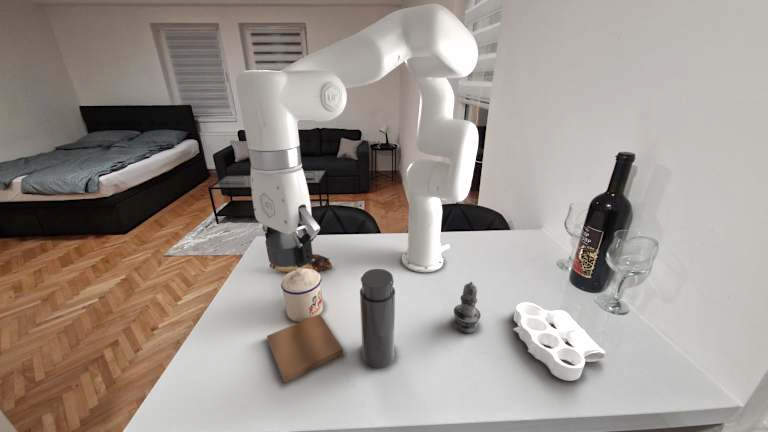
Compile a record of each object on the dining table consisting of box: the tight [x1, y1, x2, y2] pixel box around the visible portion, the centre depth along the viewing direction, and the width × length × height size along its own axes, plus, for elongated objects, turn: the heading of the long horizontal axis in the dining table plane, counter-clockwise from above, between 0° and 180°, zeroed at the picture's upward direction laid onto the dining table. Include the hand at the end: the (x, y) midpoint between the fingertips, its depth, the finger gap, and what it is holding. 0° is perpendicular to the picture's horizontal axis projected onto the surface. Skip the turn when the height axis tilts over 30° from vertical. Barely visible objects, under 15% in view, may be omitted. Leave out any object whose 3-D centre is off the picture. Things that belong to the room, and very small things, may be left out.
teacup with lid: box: [280, 268, 324, 323], centre depth 73 cm, size 12×9×12 cm
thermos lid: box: [265, 230, 304, 267], centre depth 53 cm, size 7×7×4 cm
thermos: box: [359, 268, 396, 369], centre depth 58 cm, size 6×6×19 cm
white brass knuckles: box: [512, 302, 607, 382], centre depth 64 cm, size 3×18×15 cm
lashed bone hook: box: [269, 253, 333, 273], centre depth 90 cm, size 9×5×18 cm
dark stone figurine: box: [453, 281, 482, 335], centre depth 67 cm, size 6×6×12 cm
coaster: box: [266, 313, 344, 384], centre depth 63 cm, size 12×12×2 cm
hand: (290, 255), depth 54 cm, fingers closed on thermos lid, 7 cm apart
